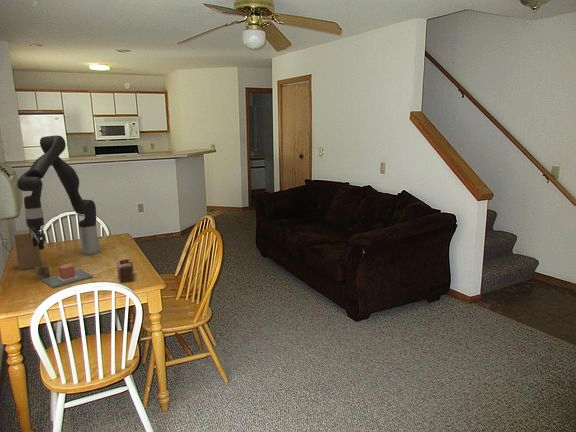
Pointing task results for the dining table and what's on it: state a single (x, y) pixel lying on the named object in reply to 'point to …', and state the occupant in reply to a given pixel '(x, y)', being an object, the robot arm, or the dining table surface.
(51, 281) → the grey flat rectangular panel
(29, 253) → the wooden block
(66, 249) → the dining table surface
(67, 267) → the red block
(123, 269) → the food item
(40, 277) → the walnut block
